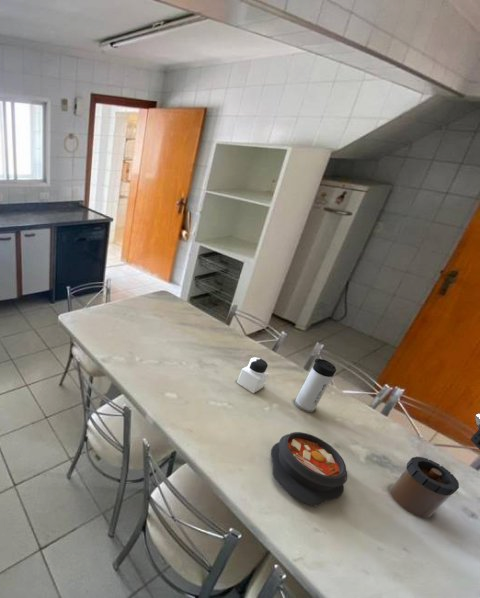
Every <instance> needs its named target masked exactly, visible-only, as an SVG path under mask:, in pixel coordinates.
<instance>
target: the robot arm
mask: <svg viewBox="0 0 480 598" xmlns="http://www.w3.org/2000/svg"><path fill="white" fill-rule="evenodd" d="M474 421H475V422H474V423H475V425H476V428H477V430H476V432H475V433H474V434H472V437H470V441H471V442H472V443H473V444H474V445H475V447H476V448H477V449H478V450H480V413H477V414H475V420H474Z"/></svg>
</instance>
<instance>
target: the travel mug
mask: <svg viewBox="0 0 480 598" xmlns="http://www.w3.org/2000/svg"><path fill="white" fill-rule="evenodd" d="M336 372H337V369H336V366H335V365H334V364H333V363H331V362H330V361H328V360H326V359H323V358H315V359H314V364H313V366H311V369H310V371H309V372H308V375H307V377H306V379H305V381H304V383H303V384H302V386H301V389H300V390H299V393H298V395H297V397H296V398H295V400H294V404H295V405H296V407H297V408H298V409H300V410H301V411H303V412H307V413H313V412H315V410H316V408H317V406H318V404H319V403H320V401H321V399H322V397H323V395H324V394H325V392H326V390H327V388H328V386H329V385H330V383H331V381H332V379H333V378H334V375H335V373H336Z"/></svg>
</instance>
